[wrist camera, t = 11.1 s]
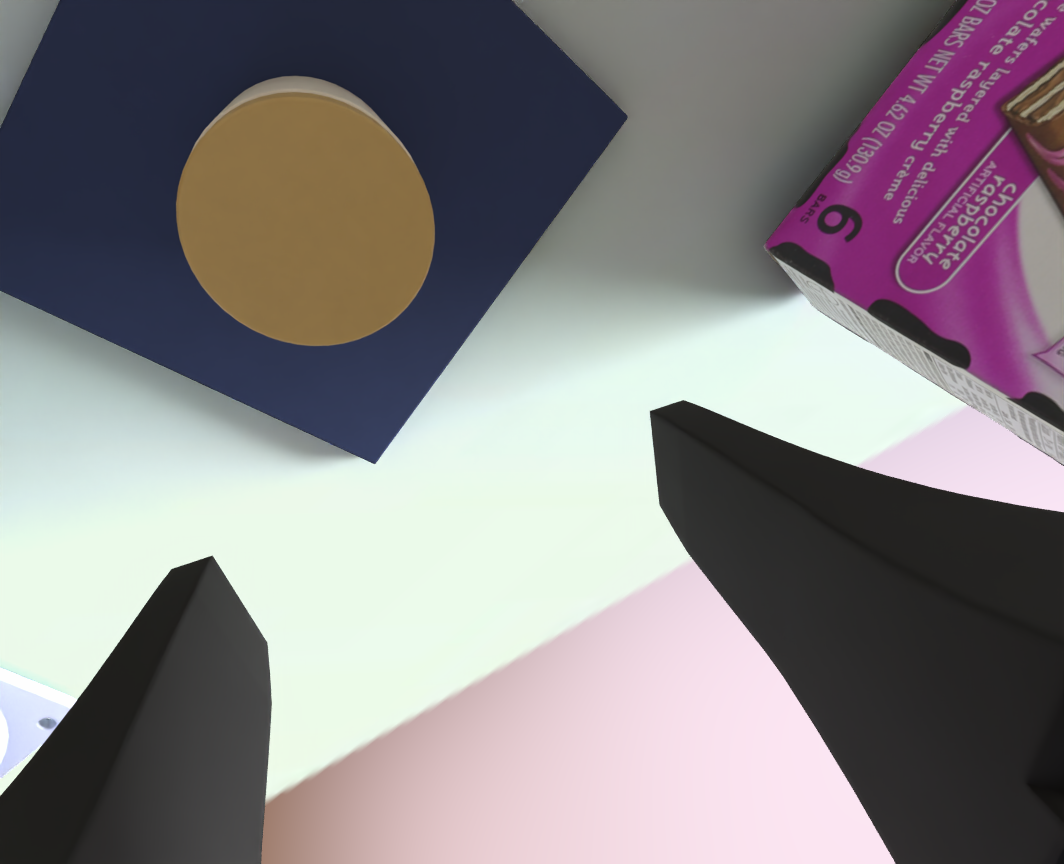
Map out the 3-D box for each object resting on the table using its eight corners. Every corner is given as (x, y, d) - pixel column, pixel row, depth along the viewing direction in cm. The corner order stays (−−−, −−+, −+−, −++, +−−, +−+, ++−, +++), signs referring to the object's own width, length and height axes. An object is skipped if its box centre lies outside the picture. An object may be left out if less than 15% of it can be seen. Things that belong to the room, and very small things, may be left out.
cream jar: (311, 306, 17) (313, 392, 13) (162, 165, 15) (109, 217, 11) (440, 194, 17) (485, 247, 13) (309, 29, 14) (312, 28, 10)
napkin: (373, 456, 21) (375, 465, 20) (-54, 256, 15) (-64, 262, 15) (622, 114, 18) (629, 116, 17) (205, -297, 12) (202, -308, 12)
